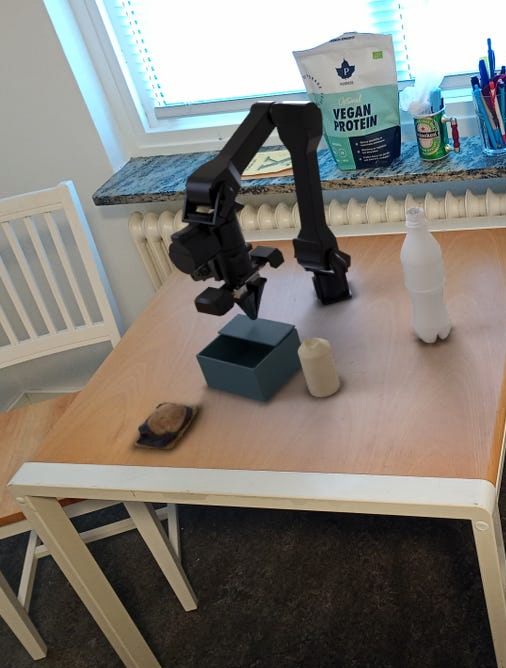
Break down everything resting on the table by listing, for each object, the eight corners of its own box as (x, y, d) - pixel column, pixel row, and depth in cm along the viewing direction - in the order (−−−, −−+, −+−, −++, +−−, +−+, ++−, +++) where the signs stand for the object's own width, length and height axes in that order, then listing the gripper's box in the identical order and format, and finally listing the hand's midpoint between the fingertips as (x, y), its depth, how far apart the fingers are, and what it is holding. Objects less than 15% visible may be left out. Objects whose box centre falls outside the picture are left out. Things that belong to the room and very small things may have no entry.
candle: (346, 381, 127) (334, 334, 122) (328, 400, 124) (315, 353, 118) (320, 375, 130) (308, 329, 124) (303, 393, 127) (289, 347, 121)
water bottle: (456, 324, 135) (440, 200, 120) (447, 347, 130) (430, 220, 115) (419, 323, 138) (399, 201, 123) (409, 345, 132) (387, 221, 118)
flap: (238, 315, 137) (238, 313, 137) (295, 326, 130) (295, 324, 130) (218, 333, 133) (217, 332, 133) (275, 346, 126) (274, 344, 126)
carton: (250, 347, 142) (239, 316, 137) (305, 360, 135) (296, 328, 130) (208, 387, 134) (195, 355, 129) (265, 402, 127) (253, 370, 122)
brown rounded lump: (162, 406, 132) (155, 390, 129) (202, 409, 129) (195, 393, 126) (131, 447, 124) (122, 431, 122) (172, 451, 121) (165, 435, 119)
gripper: (227, 214, 133) (250, 286, 142) (157, 266, 121) (188, 341, 131) (274, 219, 128) (296, 293, 137) (206, 274, 116) (235, 352, 125)
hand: (254, 319), depth 133 cm, fingers closed
